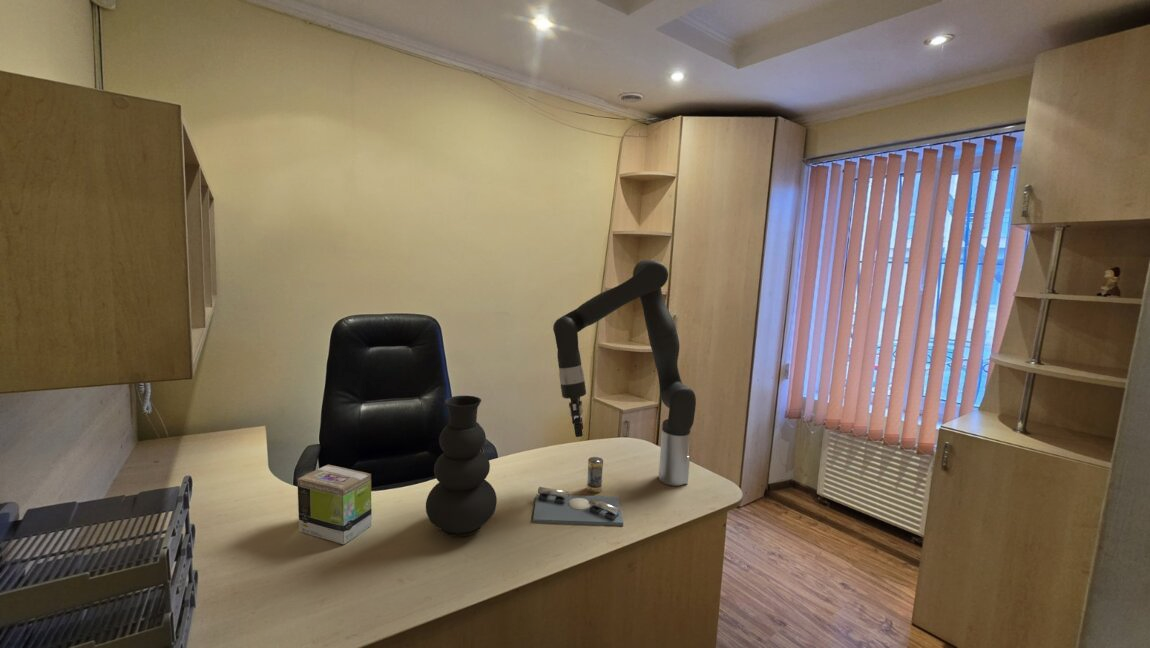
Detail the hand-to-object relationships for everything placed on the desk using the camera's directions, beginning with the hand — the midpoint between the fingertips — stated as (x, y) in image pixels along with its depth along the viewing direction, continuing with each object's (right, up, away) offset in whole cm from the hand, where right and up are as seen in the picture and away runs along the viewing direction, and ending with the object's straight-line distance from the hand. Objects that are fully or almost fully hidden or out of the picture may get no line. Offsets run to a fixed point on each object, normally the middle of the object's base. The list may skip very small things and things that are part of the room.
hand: (579, 432), depth 144 cm
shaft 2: (+7, -22, -11) cm, 25 cm away
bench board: (-1, -21, -8) cm, 22 cm away
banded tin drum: (+5, -19, +5) cm, 20 cm away
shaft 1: (-8, -20, -4) cm, 22 cm away
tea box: (-64, -20, -22) cm, 71 cm away
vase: (-32, -21, -19) cm, 43 cm away
